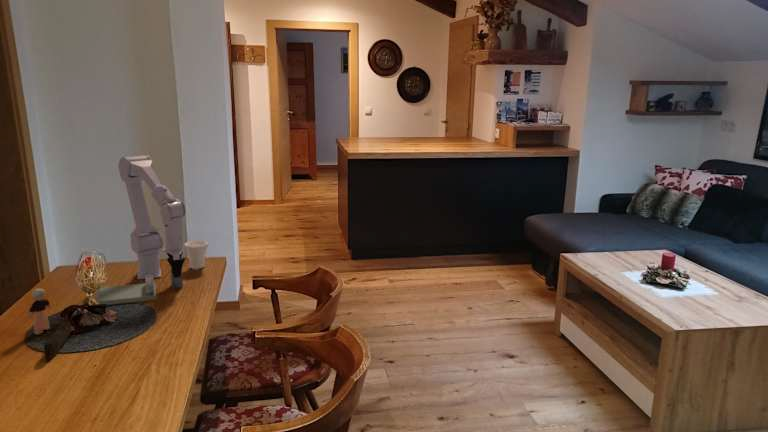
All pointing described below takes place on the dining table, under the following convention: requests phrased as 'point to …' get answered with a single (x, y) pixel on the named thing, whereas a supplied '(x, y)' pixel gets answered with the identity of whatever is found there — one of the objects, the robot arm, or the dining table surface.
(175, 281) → the dark steel block
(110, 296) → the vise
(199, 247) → the cup
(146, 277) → the sliding jaw
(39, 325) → the grandmother figurine
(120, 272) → the dining table surface
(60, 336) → the hand tool
